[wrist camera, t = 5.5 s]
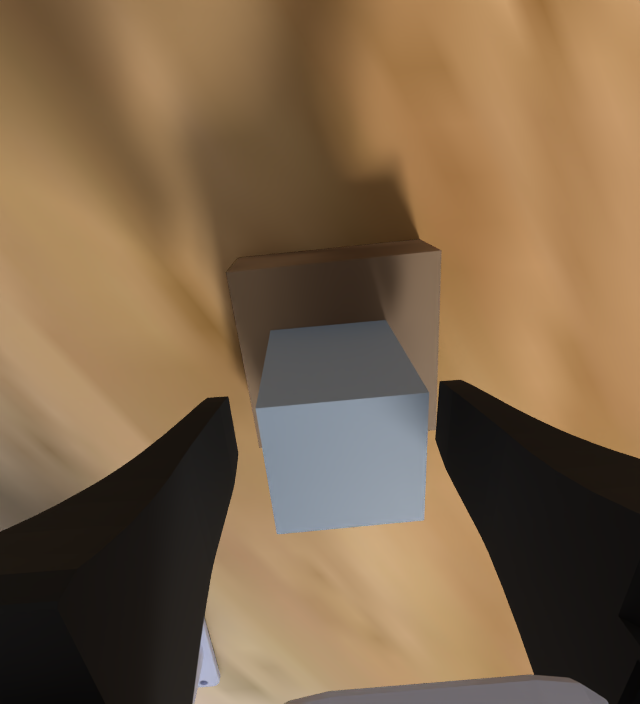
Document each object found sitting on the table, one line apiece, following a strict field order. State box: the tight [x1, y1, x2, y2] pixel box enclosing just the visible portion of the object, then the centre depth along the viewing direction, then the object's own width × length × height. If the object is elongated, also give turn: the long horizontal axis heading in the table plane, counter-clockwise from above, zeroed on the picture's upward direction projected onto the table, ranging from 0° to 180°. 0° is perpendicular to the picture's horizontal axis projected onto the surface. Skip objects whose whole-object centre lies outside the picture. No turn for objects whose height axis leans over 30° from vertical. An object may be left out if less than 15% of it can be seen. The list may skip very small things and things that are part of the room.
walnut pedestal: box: [226, 239, 441, 448], centre depth 16 cm, size 7×7×3 cm
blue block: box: [256, 320, 429, 534], centre depth 12 cm, size 4×4×5 cm
